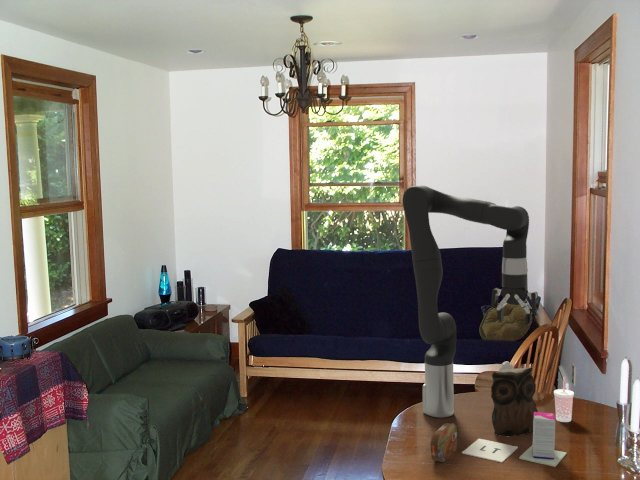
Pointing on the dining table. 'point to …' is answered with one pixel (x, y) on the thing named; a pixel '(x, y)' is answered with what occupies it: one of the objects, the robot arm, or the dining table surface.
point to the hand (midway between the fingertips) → (514, 323)
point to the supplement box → (543, 435)
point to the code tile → (490, 450)
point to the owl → (513, 401)
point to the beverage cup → (563, 403)
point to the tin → (444, 442)
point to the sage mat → (557, 458)
